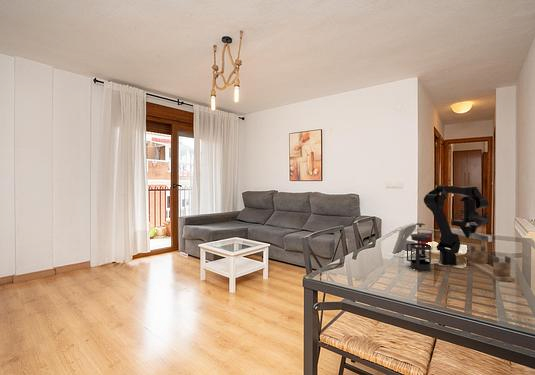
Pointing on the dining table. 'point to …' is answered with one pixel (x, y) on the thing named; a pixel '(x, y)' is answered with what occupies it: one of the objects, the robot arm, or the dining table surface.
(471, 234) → the steel bar
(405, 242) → the phone holder
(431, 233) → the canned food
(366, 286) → the dining table surface
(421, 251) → the french press
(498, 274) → the hook rack
